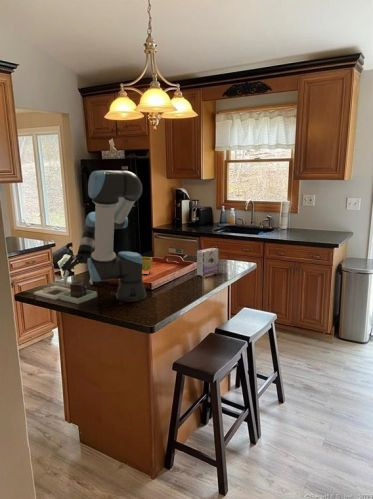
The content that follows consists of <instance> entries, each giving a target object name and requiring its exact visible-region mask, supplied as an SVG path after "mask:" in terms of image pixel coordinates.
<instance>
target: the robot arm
mask: <svg viewBox="0 0 373 499" xmlns="http://www.w3.org/2000/svg"><path fill="white" fill-rule="evenodd" d="M87 189H88V190H87V194H88V197H89V198H90V199H91V201H92V203H94V205H95V211H91V212H89V213H88V214H87V215H86V218H85V223H84V228H83V231H82V233H81V234H82V236H81V240H80V243H79V246H78V250H77V254H74V253H71V254H70V257H69V258H68V259H67V260H66V261H65V263H64V264H63V265H62V266H61V268H60V269H61V271H63V274H62V276H63V280H62V283H63V284H64V285H65V284H67V282H68V278H69V274H70V272H69V271H71V270H72V269H74V267H76V266H77V265H79V264H87V268H88V270H87V271H88V273H89V276H90V279H89V281H88V282H89V284H90V285H93V284H94V283H93V282H96V283H97V282H105V281H113V280H119V282H118V287H117V290H116V299H117V300H118V301H120V302H125V303H131V302H132V303H133V302H140V301H143V300H145V299H146V298H147V290H146V288H145V285H144V283H143V280H144V279H143V278H144V277H143V275H142V264H143V263H142V257H143V256H142V255H141V254H140V253H138V252H133V251H126V250H125V251H119V252H118V254H116V253H115V251H114V239H115V238H114V234H115V230H117V229H118V230H119V229H120V230H121V229H126V228H127V227H128V224H129V219H128V215H129V213H130V212H131V209H132V207H133V206H134V204H135V203H136V201H138V200H139V199H140V197H141V196H142V194H143V184H142V182H141V179H140V178H139V177H138V176H137V175H136V174H135V173H133V172H131V171H128V170H102V169H101V170H94V171H91V173H90V175H89V178H88V183H87Z"/></svg>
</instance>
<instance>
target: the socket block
mask: <svg viewBox="0 0 373 499" xmlns="http://www.w3.org/2000/svg"><path fill="white" fill-rule="evenodd" d="M54 291H60V292H59V293H56V294H51V293H52V292H54ZM69 291H71V290H70V288H67V287H63V286H59V285H53V286H47V287H44V288H42V289H40V290H37V291H34V292H33V295H35V296H38V297H42V298H46V299H50V300H59V295H60V294H63V293H66V292H69ZM50 292H51V293H50Z"/></svg>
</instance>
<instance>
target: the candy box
mask: <svg viewBox="0 0 373 499" xmlns="http://www.w3.org/2000/svg"><path fill="white" fill-rule="evenodd" d="M219 251H220V250H219V248H215V247H210V248H204V249H200V250H199V249H198V250H197V251H196V276H197V275H201V276H205V275H208V274H211V273H215V272H218V273H219V256H220V255H219Z"/></svg>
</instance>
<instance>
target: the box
mask: <svg viewBox="0 0 373 499" xmlns="http://www.w3.org/2000/svg"><path fill="white" fill-rule="evenodd" d="M69 287H70V288H69V289H70V290H71V297H73V298H77V299H78V298H81V297H83V296H86V295H87V292H86V290H87V282H86V281H80V280H79V281H73V282H72V283H70V286H69Z"/></svg>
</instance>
